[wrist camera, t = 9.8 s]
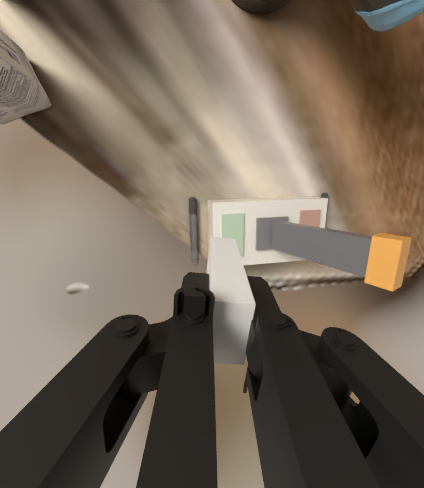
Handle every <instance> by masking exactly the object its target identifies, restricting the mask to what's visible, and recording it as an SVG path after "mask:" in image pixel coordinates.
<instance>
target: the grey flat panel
mask: <svg viewBox="0 0 424 488" xmlns="http://www.w3.org/2000/svg"><path fill="white" fill-rule="evenodd" d="M321 198H328V194H327V193H323V194H322V195H321ZM327 204H328V203H327ZM189 213H190V234H191V255H192V264H193V265H198V262H199V261H198V260H199V259H198V234H197V208H196V199H195V198H194V197H191V198H190V199H189ZM326 213H327V212H326ZM325 222H326V221H325Z"/></svg>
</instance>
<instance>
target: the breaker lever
mask: <svg viewBox="0 0 424 488" xmlns="http://www.w3.org/2000/svg"><path fill="white" fill-rule="evenodd" d="M411 239H412V238H410V237H404V236H397V235H391V234H385V233H380V234H377V235H373V236H368V235H362V234H356V233H350V232H344V231H338V230H332V229H327V228H321V227H315V226H309V225H303V224H297V223H291V222H285V221H273V232H272V249H275V250H278V251H281V252H284V253H287V254H291V255H294V256H297V257H300V258H304V259H307V260H310V261H313V262H317V263H320V264H323V265H326V266H330V267H333V268H336V269H339V270H342V271H346V272H349V273H352V274H355V275H359V276H362V277H365V281H364V282H365V283H368V284H371V285H374V286H377V287H380V288H383V289H386V290H389V291H394V290H396V289H398V288H399V287H401V285H402V281H403V276H404V272H405V267H406V262H407V258H408V253H409V248H410V244H411Z"/></svg>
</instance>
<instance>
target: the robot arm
mask: <svg viewBox="0 0 424 488" xmlns="http://www.w3.org/2000/svg"><path fill="white" fill-rule="evenodd" d="M233 1H234V2H235V3H236V4H237V5H238V6H240V7H241V8H243V9H245V10H246V11H249V12H252V13H256V14H266V13H271V12H274V11H276V10H278V9H280V8H281V7H282V6H284V5H285V4H286V3H287V2H288V1H289V0H233ZM350 2H351V4H352V5H353V9H354V11H355V13H357V15H360V16H361V17H362V18H363V20H364V21H365V22H366V24H367V25H368V26H369V27H370V28H371V29H373V30H375V31H386V30H389V29H392V28H395V27H397V26H399V25H401V24H403V23H405V22H407V21H409V20H410V19H412V18H414V17H415V16H417V15H419V14H420V13H422V12H423V11H424V0H350ZM246 356H247V361H248V367H247V372H246V378H245V383H244V389H243V393H246V391H247V387H248V391H249V397H250V403H251V409H252V415H253V420H254V427H255V433H256V438H257V445H258V451H259V457H260V463H261V469H262V475H263V481H264V487H265V488H424V395H423V394H422V393H421V392H419V391H418V390H417V389H416V388H415V387H414V386H413V385H412V384H410V383H409V382H408V381H407V380H406V379H405V378H404V377H403V376H401V375H400V374H399V373H398V372H397V371H396V370H395V369H394V368H393V367H391V366H390V365H389V364H388V363H387V362H386V361H385V360H384V359H382V358H381V357H380V356H379V355H378V354H377V353H376V352H375V351H374V350H372V349H371V348H370V347H369V346H368V345H367V344H366V343H364V342H363V341H362V340H361V339H360V338H358V337H357V336H356V335H354V334H353V333H351V332H349V331H346V330H344V329H341V328H336V327H329V328H326V329H324V331H323V332H322V335H321V336H317V335H314V334H310V333H307V332H304V331H301V330H299V329H298V327H297V325H296V324H295V322H294V321H293V320H292V319H291V318H290V317H288V316H287V315H285V314H283V313H281V311H280V308H279V307H278V304H277V302H276V300H275V298H274V296H273V293H272V291H271V289H270V287H269V285H268V283H267V282H266V281H265V280H264V279H263V278H261V277H253V276H247V275H246V272H245V269H244V266H243V263H242V259H241V256H240V253H239V250H238V247H237V244H236V240H235V239H231V238H219V237H210V245H209V255H208V265H207V274H205V273H192V272H189V273H188V274H187V275H185V276H184V278H183V283H182V287H181V288H180V289H178V290H177V291H176V293H175V295H174V312H173V317H171V318H170V319H168V320H166V321H164V322H161V323H156V324H148V322H147V320H146V319H145V318H143V317H141V316H138V315H124V316H120V317H117V318H115V319H113V320H111V321H110V322H109V323H107V324H106V325H105V326H104V327H103V328H102V329H101V330H100V332H98V333H97V335H96V336H94V337H93V339H91V340H90V342H89V343H88V344H87V345H86V346H85V347H84V348H83V349H82V350H81V351H80V352H79V353H78V354H77V355H76V356H75V357H74V358H73V359H72V360H71V361H70V362H69V363H68V364H67V365H66V366H65V367H64V368H63V369H62V370H61V371H60V372H59V373H58V374H57V375H56V376H55V377H54V378H53V379H52V380H51V381H50V382H49V383H48V384H47V385H46V386H45V387H44V388H43V389H42V390H41V391H40V392H39V393H38V394H37V395H36V396H35V397H34V398H33V399H32V400H31V401H30V402H29V403H28V404H27V405H26V406H25V407H24V408H23V409H22V410H21V411H20V412H19V413H18V414H17V415H16V416H15V418H13V419H12V420H11V421H10V422H9V423H8V424H7V425H6V426H5V427H4V428H3V429H2V430H1V431H0V488H100V486H101V484H102V482H103V480H104V478H105V476H106V474H107V473H108V471H109V469H110V467H111V465H112V463H113V461H114V459H115V457H116V455H117V453H118V451H119V449H120V447H121V445H122V443H123V441H124V440H125V437H126V436H127V433H128V432H129V430H130V428H131V426H132V424H133V422H134V420H135V418H136V416H137V414H138V412H139V410H140V408H141V406H142V405H143V403H144V401H145V399H146V397H147V394H148V392H150V391H154V390H157V393H156V398H155V403H154V407H153V412H152V417H151V421H150V426H149V430H148V435H147V440H146V444H145V449H144V453H143V459H142V463H141V467H140V472H139V476H138V481H137V486H136V488H217V455H216V423H215V422H216V420H215V385H214V363H227V364H244V363H245V357H246ZM352 392H353V393H354V394H355V395H356V396H357V397H358V399H359V400H360V402H359V404H357V403H355V402H354V401H353V400H352V399H351V397H350V395H351V393H352Z"/></svg>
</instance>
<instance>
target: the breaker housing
mask: <svg viewBox="0 0 424 488" xmlns="http://www.w3.org/2000/svg"><path fill="white" fill-rule="evenodd" d="M207 203H208V240H209V245H210V237H219V238H231V239H235V240H236V244H237V247H238V250H239V253H240V256H241V259H242V263H243V265H254V264H266V263H278V262H290V261H302V260H307V259H304V258H300V257H297V256H294V255H291V254H287V253H284V252H281V251H278V250H275V249H272V232H273V221H285V222H291V223H297V224H303V225H309V226H315V227H321V228H325V221H326V212H327V203H328V198H320V197H311V196H306V197H279V198H251V199H224V200H207Z"/></svg>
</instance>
